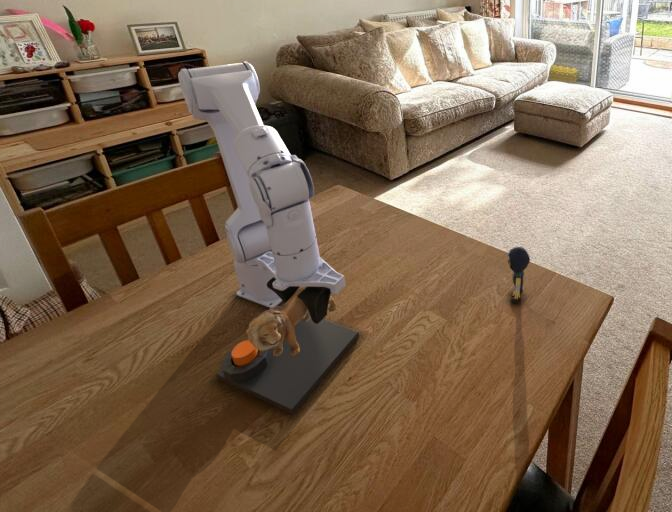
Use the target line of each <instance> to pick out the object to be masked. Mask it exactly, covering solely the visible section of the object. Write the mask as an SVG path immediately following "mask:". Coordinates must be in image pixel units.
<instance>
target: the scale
mask: <svg viewBox="0 0 672 512" xmlns="http://www.w3.org/2000/svg"><path fill="white" fill-rule="evenodd" d="M306 314H307V311H306V313H305V315H304V316H306ZM304 316H303V317H304ZM302 319H303V318H302ZM302 319H301V320H300V321H299V322H298V323H297V324H296V325H295V326H294V332H295V338H296V341H297V343H298V345H299V348H300V352H299V353H298V354H296V355H294V356H292V355H291V354H290V351H291V349H290V344H289V342H288V341H287V340H285V341H283V343H282V344H283V345H282V347H283V351H282V353H281V354H280V355H279V356H274V355H273V352H274V350H275V349H276V348H274V349H273V348H272V349H267V350H264V351H259V350H258V355H257V357H256V358H255V359H254V360H253V361H252V362H251V363H249V364H247V365H244V366H237V365H235V364H234V361H233V358H232V355H231V352H232V350H233V348H234V347H235V346H236V345H234V346H233V347H232V348H231V349H230V350H228V351H227V352H226V353H225V355H224V357H223V359H222V361H221V369H219V370H218V371H217V372H216V373H215V376H216V378H217V380H219V381H221V382H223V383H225V384H228V385H230V386H232V387H233V388H235V389H237V390H239V391H242V392H244V393H246V394H248V395H250V396H252V397H255V398H256V399H258V400H261V401H263V402H265V403H267V404H269V405H271V406H272V407H273V406H274V407H275V408H278V409H279V410H281V411H284V412H286V413H288V414H290V415H294V414H295V413H296V412H297V411H298V409H300V407H302V405H303V404H304V403H305V401H306V400H307V399H308V398H309V397H310V395H312V394H313V392H314V391H315V390H316V389H317V387H318V386H319V385H320V384H321V382H323V380H324V379H325V378H326V377H327V376H328V374H329V373H330V372H331V371H332V369H333V368H334V367H335V366H336V365H337V364H338V363H339V361H340V360H341V359H342V358H343V357H344V355H345V354H346V353H347V352H348V351H349V349H350V348H351V347H353V345H354V344H355V343H356V341H357V340H358V339H359V338H360V334H359V331H358V330H356V329H355V330H354V329H352V328H351V327H350V328H349V327H347V326H345V325H342V324H339V323H337V322H333V321H331V320H328V319H325V318H323V319H322V320H321V321H320V322H319V323H318V324H316V323H314V322H313V321H312V319H310V320H309V321H307V322H303V321H302Z"/></svg>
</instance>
